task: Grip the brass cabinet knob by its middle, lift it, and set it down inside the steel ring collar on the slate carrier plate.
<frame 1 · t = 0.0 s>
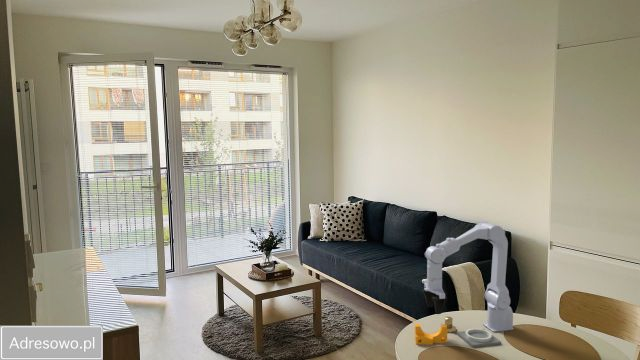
hand: (434, 310, 188), 10 cm above the table, tool pointing down, fingers open, 7 cm apart
carrier plate: (478, 339, 185), on the table
brass cabinet knob: (448, 329, 194), on the table
pipe clamp: (431, 342, 183), on the table
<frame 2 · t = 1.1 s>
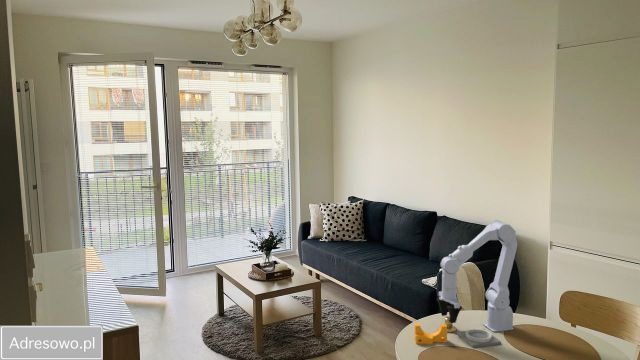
hand: (448, 318, 193), 5 cm above the table, tool pointing down, fingers open, 7 cm apart
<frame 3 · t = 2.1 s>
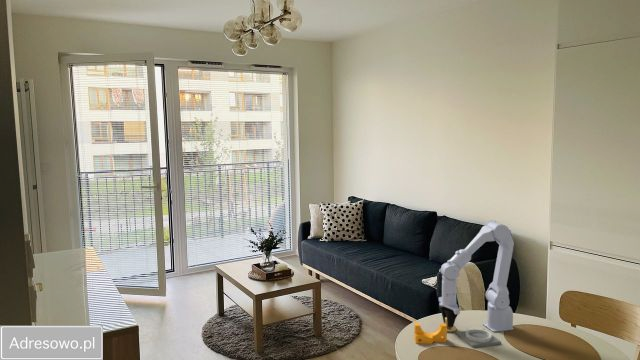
hand: (448, 324, 194), 2 cm above the table, tool pointing down, fingers closed on brass cabinet knob, 3 cm apart
brass cabinet knob: (448, 329, 194), on the table, touching gripper
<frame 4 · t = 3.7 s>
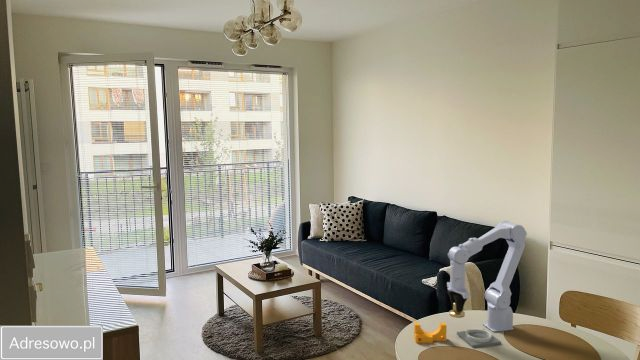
hand: (457, 309, 190), 9 cm above the table, tool pointing down, fingers closed on brass cabinet knob, 3 cm apart
brass cabinet knob: (457, 314, 191), point 7 cm above the table, touching gripper
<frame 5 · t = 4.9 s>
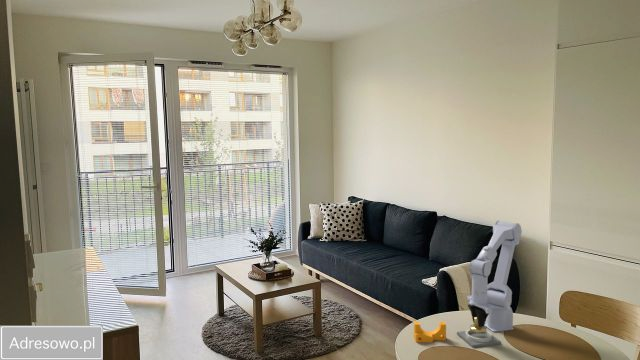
hand: (478, 324, 184), 6 cm above the table, tool pointing down, fingers closed on brass cabinet knob, 3 cm apart
brass cabinet knob: (478, 329, 184), point 4 cm above the table, touching gripper
when the fingers open (4 cm above the table, at t = 5.6 s): brass cabinet knob stays where it is, resting on carrier plate.
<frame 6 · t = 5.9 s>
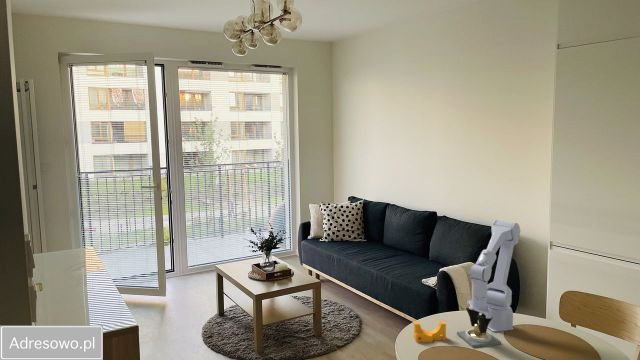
hand: (478, 329, 184), 4 cm above the table, tool pointing down, fingers open, 6 cm apart
brass cabinet knob: (478, 336, 184), point 1 cm above the table, touching carrier plate
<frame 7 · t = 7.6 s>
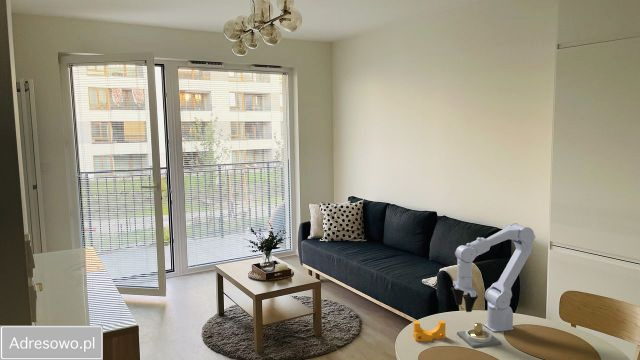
hand: (463, 308, 192), 9 cm above the table, tool pointing down, fingers open, 7 cm apart
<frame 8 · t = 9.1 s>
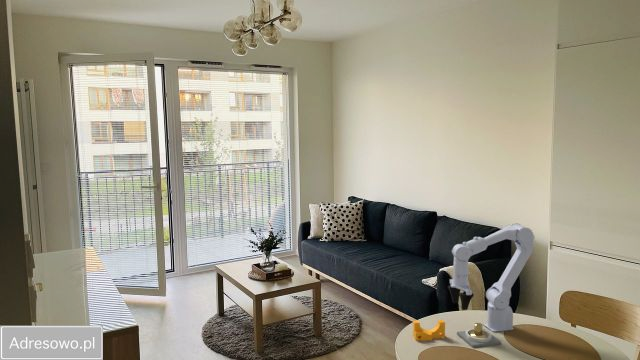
hand: (460, 306, 194), 9 cm above the table, tool pointing down, fingers open, 7 cm apart
at the end: brass cabinet knob 0.2 cm off-centre on the carrier plate, point 1.0 cm above the carrier plate's base; brass cabinet knob tilted 0°; the gripper is holding nothing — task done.
